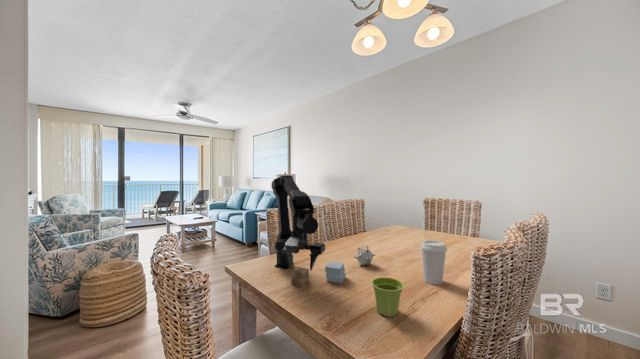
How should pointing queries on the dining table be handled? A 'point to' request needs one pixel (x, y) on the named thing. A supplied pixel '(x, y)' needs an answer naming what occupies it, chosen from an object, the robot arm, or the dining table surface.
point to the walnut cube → (300, 276)
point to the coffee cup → (433, 261)
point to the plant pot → (387, 295)
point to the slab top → (334, 267)
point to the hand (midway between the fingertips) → (300, 268)
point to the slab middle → (334, 275)
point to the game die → (364, 256)
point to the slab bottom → (336, 279)
